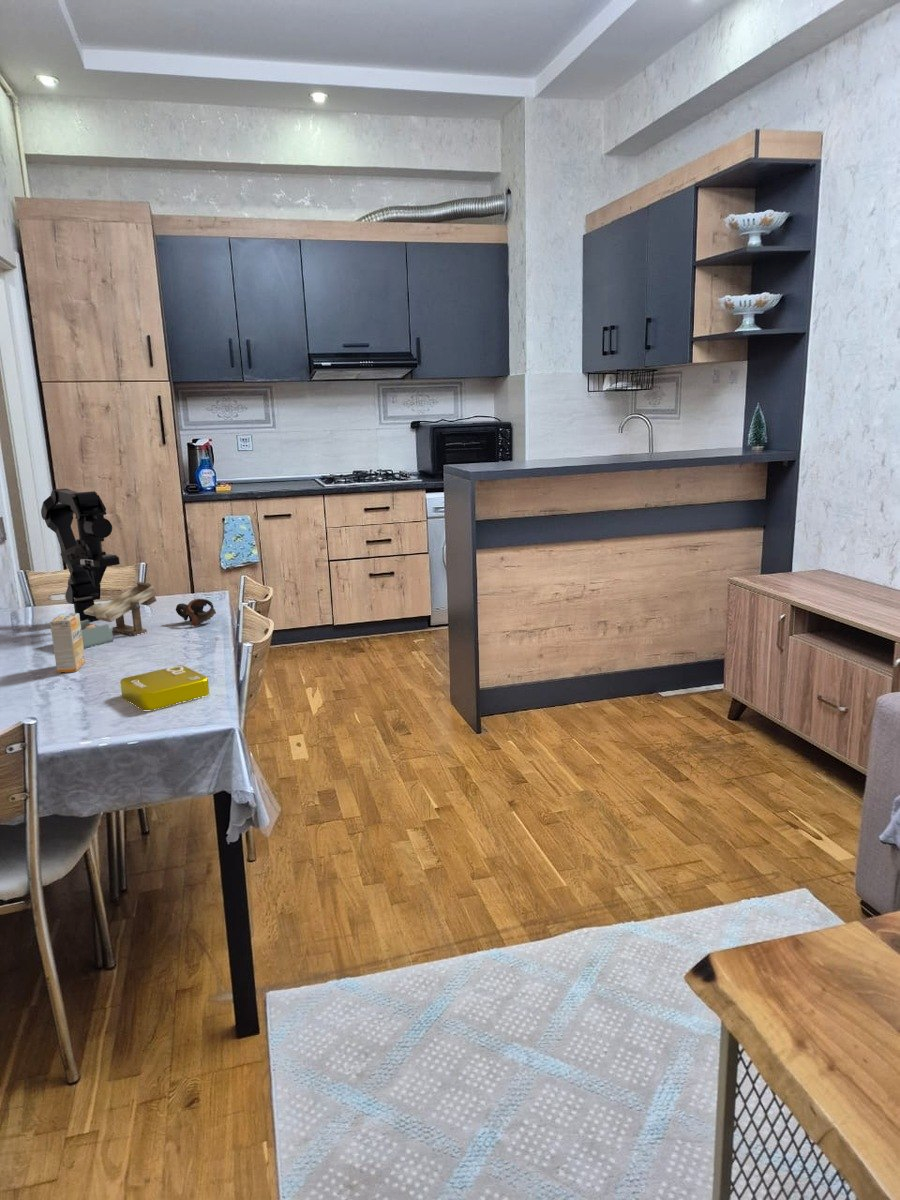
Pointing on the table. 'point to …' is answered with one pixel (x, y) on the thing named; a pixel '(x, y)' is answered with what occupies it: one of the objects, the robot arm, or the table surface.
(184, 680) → the element tile
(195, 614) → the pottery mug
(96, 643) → the bin
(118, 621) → the lever stand
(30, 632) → the table surface
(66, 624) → the supplement box
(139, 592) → the tipping lever
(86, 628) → the ball
